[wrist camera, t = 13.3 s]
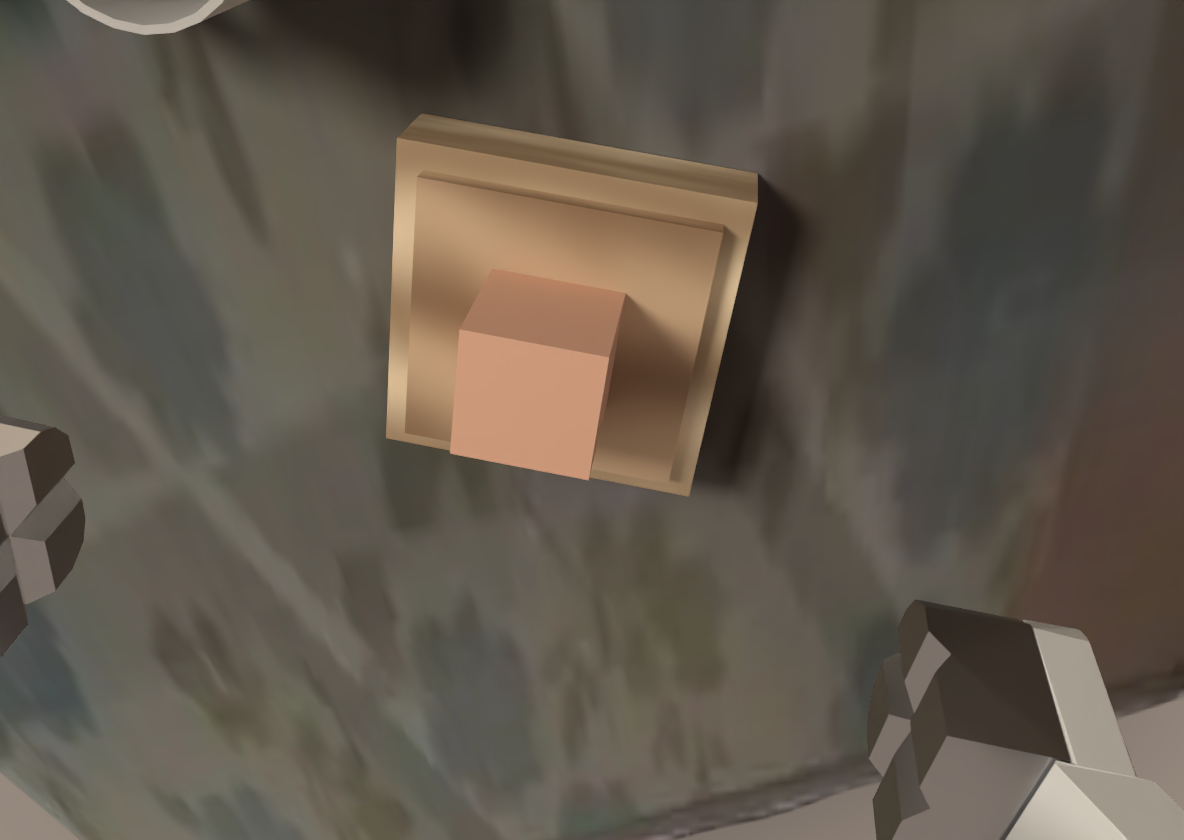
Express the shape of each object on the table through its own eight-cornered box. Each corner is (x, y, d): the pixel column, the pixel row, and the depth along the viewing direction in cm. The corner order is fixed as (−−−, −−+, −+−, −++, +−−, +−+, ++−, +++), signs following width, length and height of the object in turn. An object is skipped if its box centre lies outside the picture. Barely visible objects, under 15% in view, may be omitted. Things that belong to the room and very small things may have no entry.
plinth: (421, 113, 40) (390, 144, 36) (757, 173, 39) (757, 211, 36) (407, 399, 47) (380, 448, 43) (692, 454, 46) (687, 507, 43)
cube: (492, 268, 38) (459, 329, 34) (625, 292, 38) (609, 357, 34) (481, 383, 41) (449, 453, 37) (606, 407, 41) (588, 480, 37)
